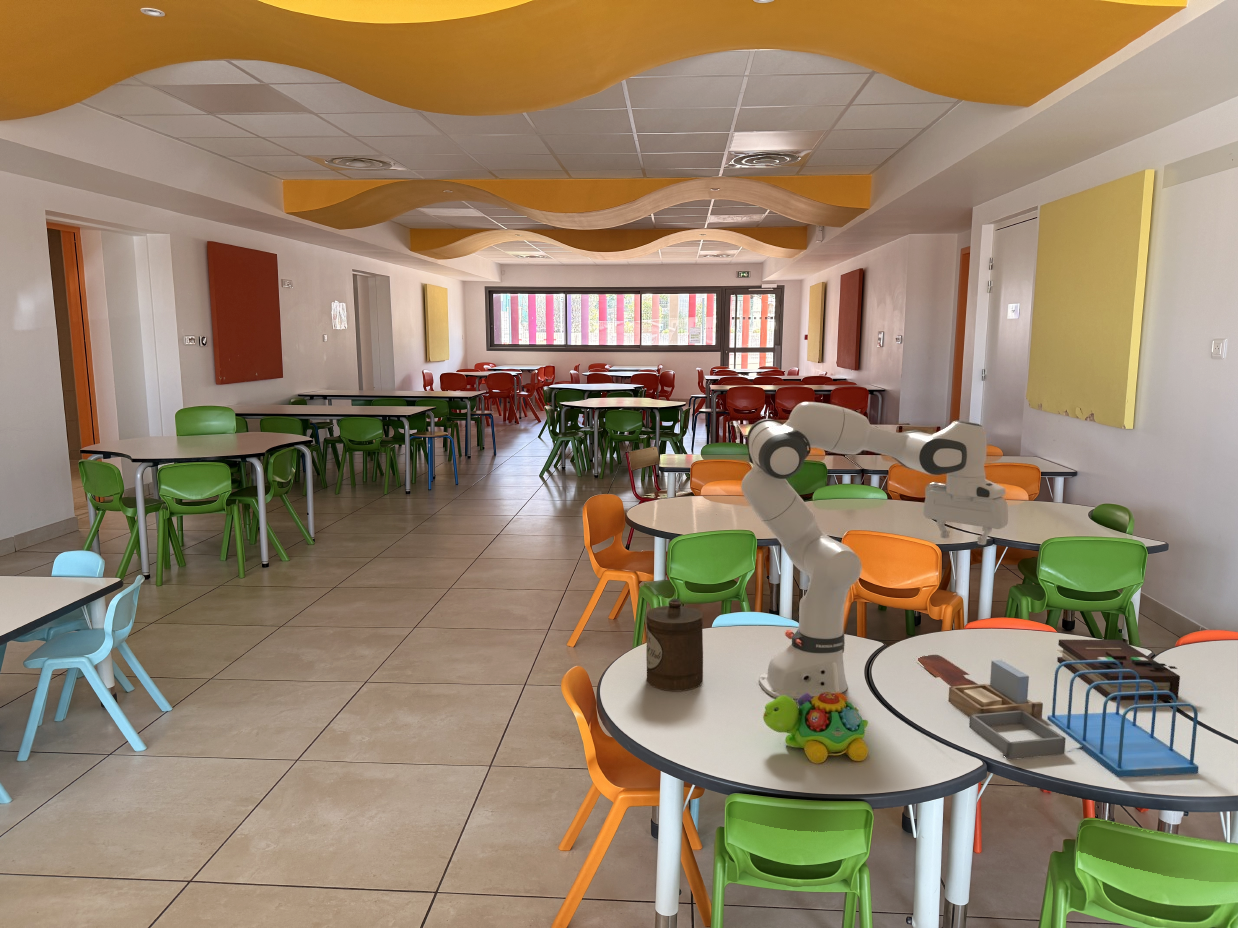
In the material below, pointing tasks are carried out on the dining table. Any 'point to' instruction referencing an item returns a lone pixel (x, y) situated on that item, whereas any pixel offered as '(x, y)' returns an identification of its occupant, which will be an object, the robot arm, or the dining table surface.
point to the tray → (1018, 749)
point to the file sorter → (1124, 731)
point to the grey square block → (1009, 681)
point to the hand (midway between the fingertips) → (963, 540)
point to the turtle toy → (819, 725)
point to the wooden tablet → (945, 670)
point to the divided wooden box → (1007, 705)
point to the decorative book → (1127, 659)
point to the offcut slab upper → (982, 697)
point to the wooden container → (674, 647)
